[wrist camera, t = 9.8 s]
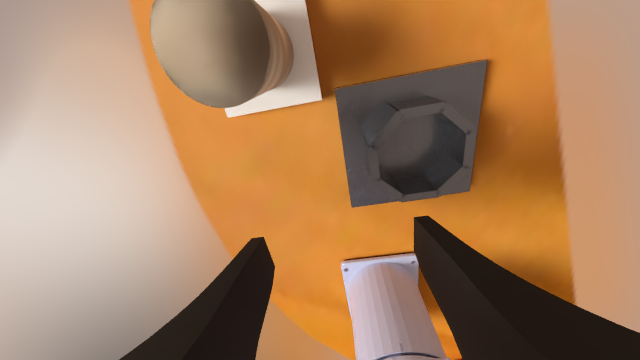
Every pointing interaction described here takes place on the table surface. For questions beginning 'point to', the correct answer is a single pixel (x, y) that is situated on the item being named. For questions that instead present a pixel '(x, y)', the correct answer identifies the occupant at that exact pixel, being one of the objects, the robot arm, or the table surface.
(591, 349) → the robot arm
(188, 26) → the tan cylinder
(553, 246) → the table surface
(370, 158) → the housing
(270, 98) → the tile pad
